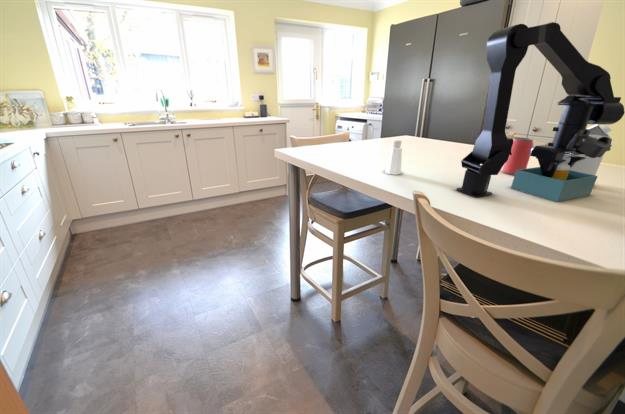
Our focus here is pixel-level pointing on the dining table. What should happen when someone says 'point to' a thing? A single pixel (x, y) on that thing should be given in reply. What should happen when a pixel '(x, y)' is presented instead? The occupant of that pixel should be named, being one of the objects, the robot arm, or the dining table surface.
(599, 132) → the milk carton
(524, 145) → the beer can
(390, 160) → the salt shaker
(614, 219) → the dining table surface
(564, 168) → the supplement bottle
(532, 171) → the bin
